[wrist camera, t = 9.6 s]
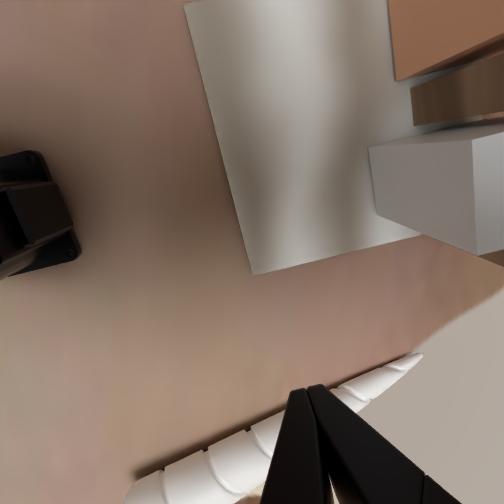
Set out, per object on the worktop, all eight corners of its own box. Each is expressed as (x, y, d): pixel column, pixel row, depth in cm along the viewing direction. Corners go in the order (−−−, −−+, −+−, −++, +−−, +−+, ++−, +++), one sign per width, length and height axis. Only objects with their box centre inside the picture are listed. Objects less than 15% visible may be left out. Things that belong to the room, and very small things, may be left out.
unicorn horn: (435, 387, 25) (481, 440, 20) (162, 507, 27) (147, 580, 22) (416, 338, 24) (460, 383, 19) (130, 469, 26) (107, 538, 21)
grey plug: (377, 215, 20) (477, 255, 12) (368, 147, 19) (471, 139, 11) (474, 190, 20) (644, 214, 12) (471, 121, 19) (657, 93, 10)
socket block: (252, 273, 21) (271, 394, 10) (184, 9, 17) (99, -248, 6) (480, 217, 21) (742, 281, 10) (468, -65, 17) (892, -464, 6)
